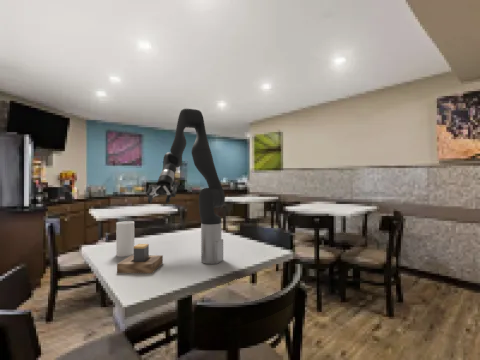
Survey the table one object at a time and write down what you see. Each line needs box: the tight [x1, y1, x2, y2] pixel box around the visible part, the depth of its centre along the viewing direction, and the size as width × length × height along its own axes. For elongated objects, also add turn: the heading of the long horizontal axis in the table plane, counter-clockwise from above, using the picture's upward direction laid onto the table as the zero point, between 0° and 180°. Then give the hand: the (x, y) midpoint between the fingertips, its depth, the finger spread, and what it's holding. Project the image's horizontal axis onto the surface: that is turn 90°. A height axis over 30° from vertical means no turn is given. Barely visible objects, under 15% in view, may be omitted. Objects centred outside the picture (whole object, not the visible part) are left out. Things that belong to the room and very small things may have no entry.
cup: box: [115, 220, 135, 257], centre depth 125 cm, size 8×8×16 cm
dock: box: [116, 254, 164, 274], centre depth 104 cm, size 14×12×4 cm
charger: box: [133, 243, 150, 262], centre depth 104 cm, size 4×4×10 cm
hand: (158, 202), depth 120 cm, fingers open, 8 cm apart
